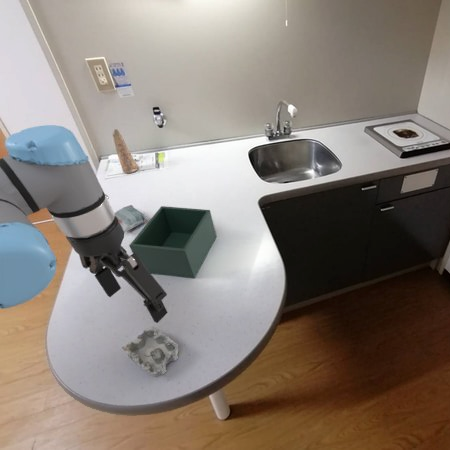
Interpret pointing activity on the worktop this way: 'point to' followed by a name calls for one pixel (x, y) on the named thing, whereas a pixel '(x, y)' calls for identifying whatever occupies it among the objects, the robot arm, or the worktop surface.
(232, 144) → the worktop surface
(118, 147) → the brown tapered cone
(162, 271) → the trash bin
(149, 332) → the egg carton
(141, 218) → the packaged food
